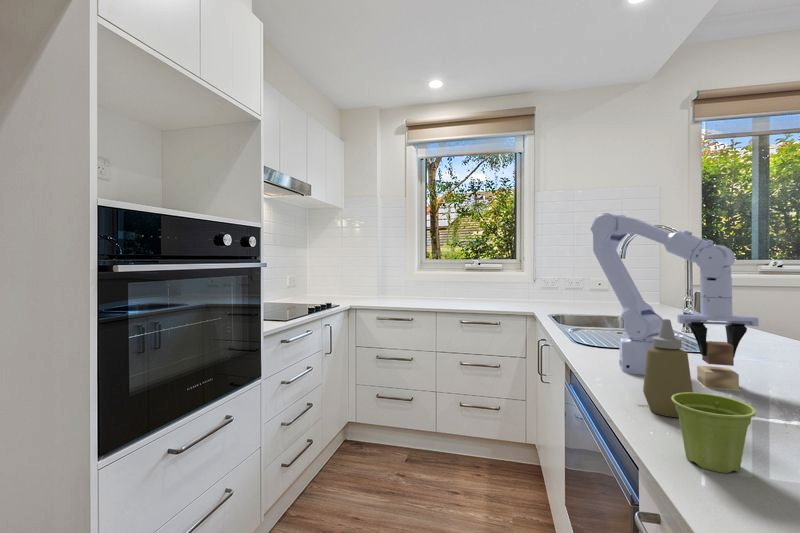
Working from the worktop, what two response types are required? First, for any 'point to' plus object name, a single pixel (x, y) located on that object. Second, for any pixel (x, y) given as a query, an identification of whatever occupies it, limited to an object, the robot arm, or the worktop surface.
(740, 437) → the plant pot
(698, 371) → the oak block
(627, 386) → the worktop surface
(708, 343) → the walnut block
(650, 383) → the squeeze bottle
